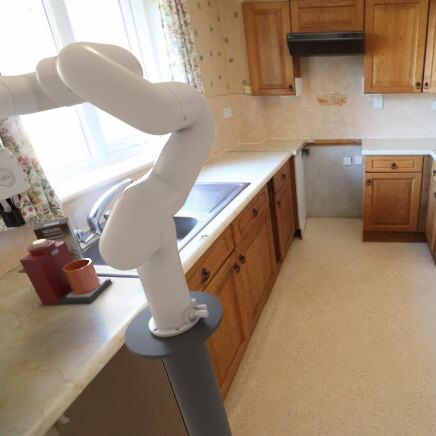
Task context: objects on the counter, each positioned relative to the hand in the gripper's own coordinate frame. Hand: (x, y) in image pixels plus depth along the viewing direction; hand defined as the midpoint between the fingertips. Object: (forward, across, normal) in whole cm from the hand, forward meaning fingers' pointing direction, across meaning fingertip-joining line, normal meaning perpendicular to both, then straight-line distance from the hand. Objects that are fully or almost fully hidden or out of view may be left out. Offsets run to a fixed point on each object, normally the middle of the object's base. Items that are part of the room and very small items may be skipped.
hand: (16, 225), depth 73 cm
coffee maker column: (+29, +13, +10) cm, 34 cm away
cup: (+27, +13, +3) cm, 30 cm away
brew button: (+12, +13, +10) cm, 21 cm away
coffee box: (+29, +30, +22) cm, 47 cm away
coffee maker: (+29, +13, +3) cm, 32 cm away
